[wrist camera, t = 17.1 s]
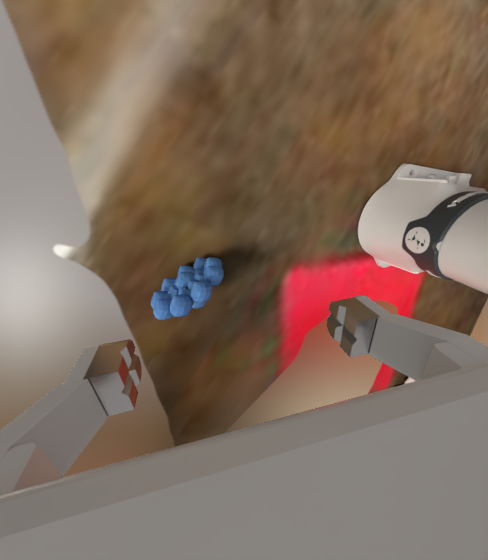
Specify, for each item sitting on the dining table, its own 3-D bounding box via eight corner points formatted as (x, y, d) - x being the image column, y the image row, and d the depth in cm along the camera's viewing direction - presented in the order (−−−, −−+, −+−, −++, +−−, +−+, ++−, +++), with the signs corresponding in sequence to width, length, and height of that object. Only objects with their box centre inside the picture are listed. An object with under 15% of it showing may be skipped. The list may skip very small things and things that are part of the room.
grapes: (171, 304, 41) (166, 352, 30) (148, 274, 37) (133, 316, 27) (229, 273, 41) (245, 310, 30) (211, 240, 37) (222, 269, 27)
